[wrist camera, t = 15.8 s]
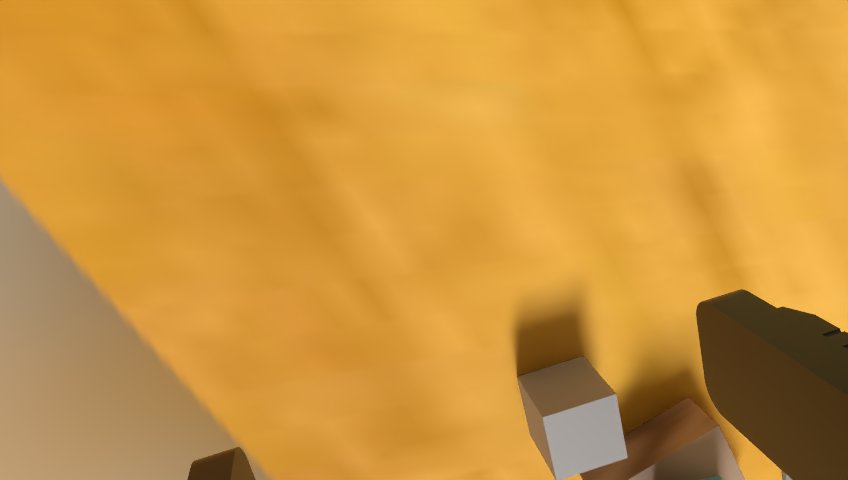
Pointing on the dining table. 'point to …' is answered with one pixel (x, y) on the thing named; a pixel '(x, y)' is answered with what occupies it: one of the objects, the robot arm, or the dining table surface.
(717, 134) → the dining table surface
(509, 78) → the dining table surface
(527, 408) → the gray block
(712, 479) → the teal block
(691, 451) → the walnut base block
